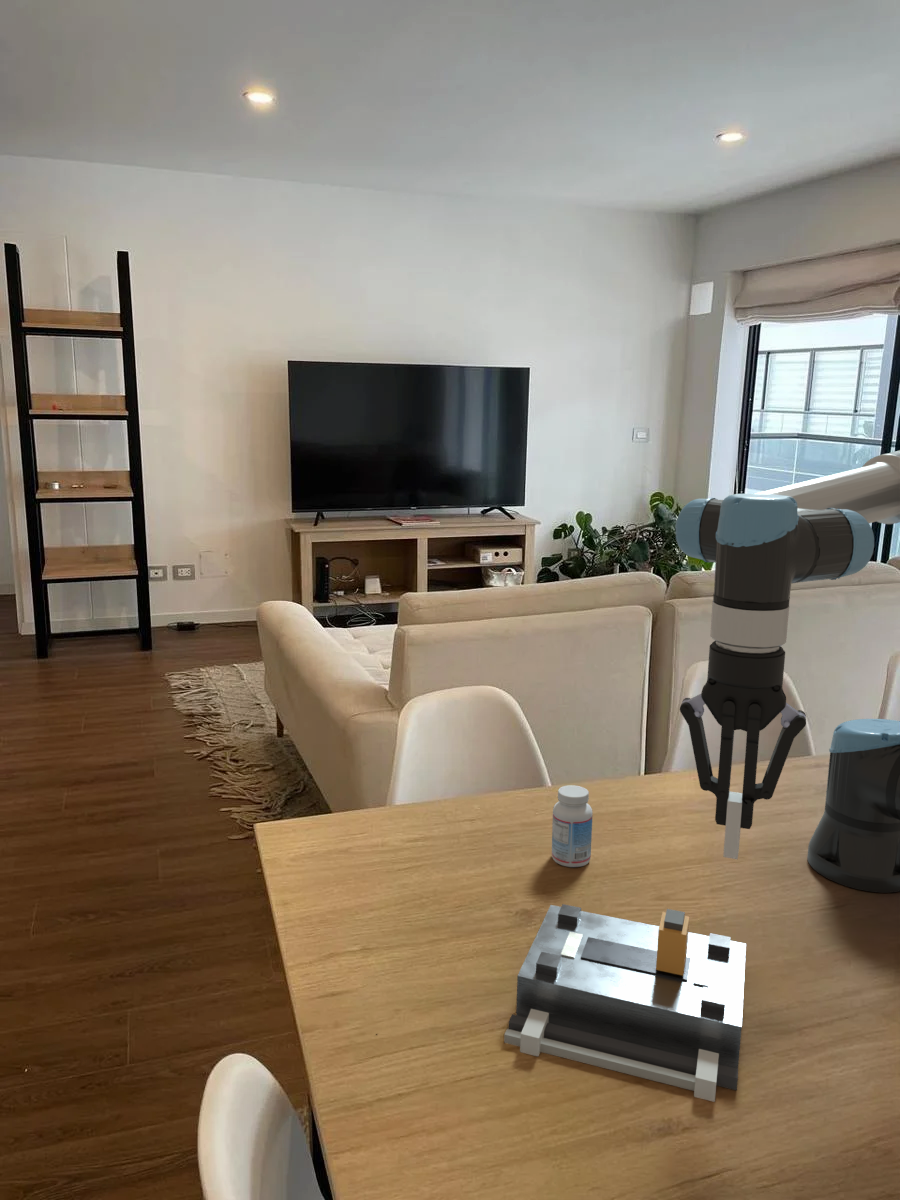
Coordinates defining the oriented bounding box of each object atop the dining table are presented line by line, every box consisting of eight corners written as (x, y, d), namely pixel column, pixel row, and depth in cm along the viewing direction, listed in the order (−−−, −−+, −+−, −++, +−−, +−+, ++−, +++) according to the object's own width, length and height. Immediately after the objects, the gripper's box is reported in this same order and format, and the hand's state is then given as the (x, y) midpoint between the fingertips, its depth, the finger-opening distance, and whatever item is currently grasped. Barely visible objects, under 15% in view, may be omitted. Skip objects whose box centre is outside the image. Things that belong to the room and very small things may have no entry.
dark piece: (743, 962, 111) (745, 946, 110) (735, 1107, 87) (737, 1087, 87) (556, 924, 118) (556, 909, 118) (502, 1047, 95) (502, 1029, 94)
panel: (742, 980, 107) (746, 934, 106) (738, 1069, 92) (742, 1016, 91) (549, 939, 115) (551, 896, 114) (516, 1015, 100) (517, 966, 99)
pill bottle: (589, 851, 139) (592, 784, 137) (591, 870, 133) (595, 800, 131) (550, 848, 140) (553, 782, 138) (551, 867, 134) (553, 798, 132)
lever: (686, 955, 102) (689, 910, 101) (683, 975, 99) (686, 928, 98) (660, 950, 103) (663, 905, 102) (655, 969, 100) (659, 923, 99)
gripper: (813, 641, 93) (794, 848, 98) (686, 630, 98) (674, 828, 102) (815, 658, 86) (795, 880, 91) (679, 646, 91) (666, 857, 95)
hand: (731, 852), depth 97 cm, fingers closed
